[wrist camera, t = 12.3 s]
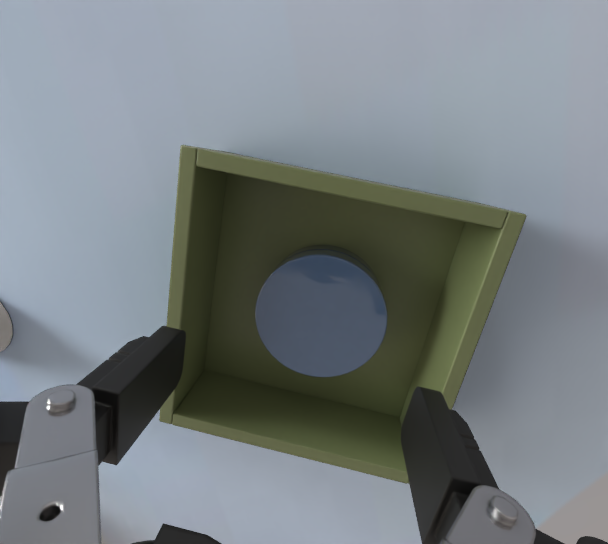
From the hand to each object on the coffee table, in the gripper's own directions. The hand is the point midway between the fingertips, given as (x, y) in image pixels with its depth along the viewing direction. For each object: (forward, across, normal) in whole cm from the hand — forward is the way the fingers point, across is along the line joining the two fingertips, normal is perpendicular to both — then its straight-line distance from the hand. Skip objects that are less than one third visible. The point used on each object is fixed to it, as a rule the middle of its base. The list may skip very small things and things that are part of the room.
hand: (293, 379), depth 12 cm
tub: (+8, 0, 0) cm, 8 cm away
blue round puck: (+7, -1, 0) cm, 7 cm away
